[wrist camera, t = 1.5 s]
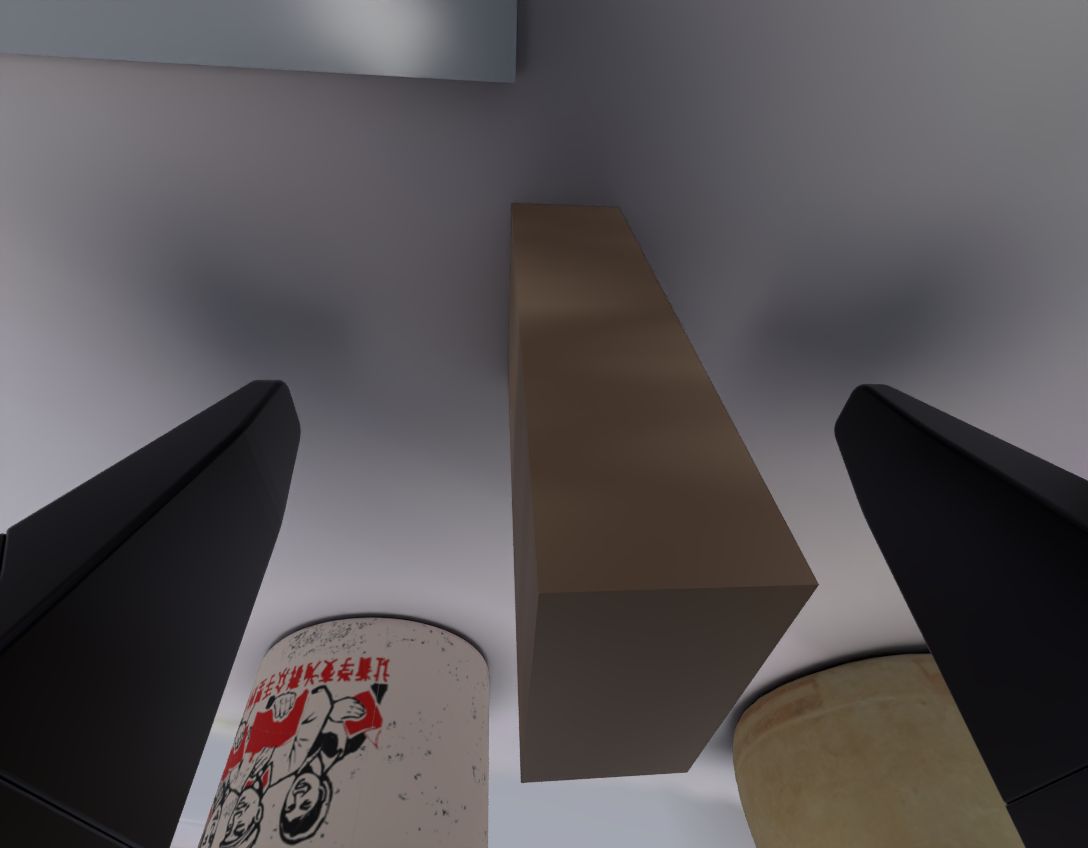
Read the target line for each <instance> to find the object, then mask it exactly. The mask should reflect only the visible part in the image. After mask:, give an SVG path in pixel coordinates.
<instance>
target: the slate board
mask: <svg viewBox="0 0 1088 848" xmlns="http://www.w3.org/2000/svg"><path fill="white" fill-rule="evenodd" d="M516 39H517V0H0V53H3V54H20V55H37V56H55V57H72V58H89V59H106V60H123V61H141V62H158V63H175V64H192V65H209V66H227V67H244V68H261V69H278V70H295V71H313V72H330V73H347V74H364V75H382V76H399V77H416V78H433V79H450V80H468V81H485V82H502V83H516Z"/></svg>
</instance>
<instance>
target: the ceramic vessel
mask: <svg viewBox="0 0 1088 848" xmlns="http://www.w3.org/2000/svg"><path fill="white" fill-rule="evenodd" d="M733 763H734V770H735V777H736V782H737V785H738V791H739V795H740V799H741V803H742V807H743V810H744V813H745V817H746V819H747V822H748V825H749V828H750V831H751V834H752V837H753V839H754V842H755V845H756V848H1025V846H1024V844H1023V842H1022V840H1021V838H1020V836H1019V834H1018V832H1017V830H1016V828H1015V826H1014V824H1013V822H1012V820H1011V817H1010V815H1009V813H1008V811H1007V809H1006V807H1005V805H1006V804H1007V803H1005V802H1004V801H1003V800H1002V798H1001V796H1000V794H999V792H998V790H997V788H996V786H995V784H994V782H993V780H992V777H991V775H990V773H989V771H988V769H987V767H986V765H985V763H984V761H983V759H982V757H981V755H980V753H979V751H978V749H977V747H976V745H975V743H974V741H973V739H972V737H971V734H970V732H969V730H968V728H967V726H966V724H965V722H964V720H963V718H962V716H961V714H960V712H959V710H958V708H957V706H956V704H955V702H954V700H953V698H952V696H951V694H950V691H949V689H948V687H947V685H946V683H945V681H944V679H943V677H942V675H941V673H940V671H939V669H938V667H937V665H936V663H935V661H934V659H933V657H932V655H931V654H902V655H893V656H884V657H876V658H870V659H865V660H860V661H855V662H850V663H846V664H843V665H840V666H836V667H833V668H830V669H827V670H824V671H820V672H817V673H814V674H811V675H807V676H804V677H802V678H799V679H797V680H794V681H792V682H789V683H787V684H784V685H782V686H780V687H778V688H776V689H775V690H773V691H771V692H769V693H767V694H765V695H764V696H762V697H760V698H759V699H758V700H757V701H756V702H754V703H753V704H752V705H751V706H750V707H749V708H748V709H746V710H745V711H744V713H743V715H742V717H741V718H740V720H739V722H738V724H737V725H736V729H735V733H734V739H733Z"/></svg>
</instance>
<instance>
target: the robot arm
mask: <svg viewBox="0 0 1088 848" xmlns="http://www.w3.org/2000/svg"><path fill="white" fill-rule="evenodd" d="M834 432H835V438H836V441H837V444H838V446H839V449H840V452H841V455H842V457H843V460H844V463H845V466H846V469H847V471H848V474H849V477H850V480H851V482H852V485H853V488H854V491H855V494H856V496H857V499H858V502H859V504H860V507H861V510H862V512H863V515H864V517H865V519H866V521H867V523H868V526H869V528H870V530H871V532H872V534H873V536H874V538H875V540H876V542H877V544H878V546H879V548H880V550H881V552H882V554H883V556H884V558H885V560H886V562H887V565H888V567H889V569H890V571H891V573H892V575H893V577H894V579H895V581H896V583H897V585H898V587H899V589H900V591H901V593H902V595H903V597H904V599H905V601H906V603H907V605H908V608H909V610H910V612H911V614H912V616H913V618H914V620H915V622H916V624H917V626H918V628H919V630H920V632H921V634H922V636H923V638H924V640H925V642H926V644H927V646H928V648H929V651H930V653H931V655H932V657H933V659H934V661H935V663H936V665H937V667H938V669H939V671H940V673H941V675H942V677H943V679H944V681H945V683H946V685H947V687H948V689H949V691H950V694H951V696H952V698H953V700H954V702H955V704H956V706H957V708H958V710H959V712H960V714H961V716H962V718H963V720H964V722H965V724H966V726H967V728H968V730H969V732H970V734H971V737H972V739H973V741H974V743H975V745H976V747H977V749H978V751H979V753H980V755H981V757H982V759H983V761H984V763H985V765H986V767H987V769H988V771H989V773H990V775H991V777H992V780H993V782H994V784H995V786H996V788H997V790H998V792H999V794H1000V796H1001V798H1002V800H1003V801H1004V802H1005V803H1007V804H1006V805H1005V807H1006V809H1007V811H1008V813H1009V815H1010V817H1011V820H1012V822H1013V824H1014V826H1015V828H1016V830H1017V832H1018V834H1019V836H1020V838H1021V840H1022V842H1023V844H1024V846H1025V848H1088V481H1087V480H1085V479H1083V478H1081V477H1079V476H1077V475H1075V474H1073V473H1070V472H1068V471H1066V470H1064V469H1062V468H1060V467H1058V466H1056V465H1054V464H1052V463H1050V462H1047V461H1045V460H1043V459H1041V458H1039V457H1037V456H1035V455H1033V454H1031V453H1029V452H1026V451H1024V450H1022V449H1020V448H1018V447H1016V446H1014V445H1012V444H1010V443H1008V442H1006V441H1003V440H1001V439H999V438H997V437H995V436H993V435H991V434H989V433H987V432H985V431H982V430H980V429H978V428H976V427H974V426H972V425H970V424H968V423H966V422H964V421H962V420H959V419H957V418H955V417H953V416H951V415H949V414H947V413H945V412H943V411H941V410H938V409H936V408H934V407H932V406H930V405H928V404H926V403H924V402H922V401H920V400H918V399H915V398H913V397H911V396H909V395H907V394H905V393H903V392H901V391H899V390H897V389H894V388H892V387H890V386H888V385H883V384H862V385H859V386H858V387H856V388H855V389H854V390H853V392H852V393H851V395H850V397H849V399H848V401H847V402H846V404H845V406H844V408H843V410H842V412H841V413H840V415H839V417H838V419H837V421H836V424H835V430H834ZM300 433H301V430H300V423H299V419H298V416H297V413H296V410H295V407H294V403H293V400H292V397H291V394H290V391H289V388H288V386H287V385H286V383H284V382H283V381H281V380H255V381H252V382H250V383H249V384H247V385H245V386H244V387H242V388H240V389H239V390H237V391H235V392H234V393H232V394H230V395H229V396H227V397H226V398H224V399H222V400H221V401H219V402H217V403H216V404H214V405H212V406H211V407H209V408H207V409H206V410H204V411H202V412H201V413H199V414H197V415H196V416H194V417H192V418H191V419H189V420H187V421H186V422H184V423H182V424H181V425H179V426H177V427H176V428H174V429H172V430H171V431H169V432H168V433H166V434H164V435H163V436H161V437H159V438H158V439H156V440H154V441H153V442H151V443H149V444H148V445H146V446H144V447H143V448H141V449H139V450H138V451H136V452H134V453H133V454H131V455H129V456H128V457H126V458H124V459H123V460H121V461H119V462H118V463H116V464H114V465H113V466H111V467H109V468H108V469H106V470H104V471H103V472H101V473H100V474H98V475H96V476H95V477H93V478H91V479H90V480H88V481H86V482H85V483H83V484H81V485H80V486H78V487H76V488H75V489H73V490H71V491H70V492H68V493H66V494H65V495H63V496H61V497H60V498H58V499H56V500H55V501H53V502H51V503H50V504H48V505H46V506H45V507H43V508H41V509H40V510H38V511H36V512H35V513H33V514H32V515H30V516H28V517H27V518H25V519H23V520H22V521H20V522H18V523H17V524H15V525H13V526H12V527H10V528H9V529H8V530H7V532H6V534H0V848H170V845H171V842H172V839H173V837H174V834H175V831H176V828H177V825H178V822H179V819H180V816H181V813H182V811H183V808H184V805H185V802H186V799H187V796H188V793H189V790H190V788H191V785H192V782H193V779H194V776H195V773H196V770H197V767H198V765H199V762H200V759H201V756H202V753H203V750H204V747H205V744H206V742H207V739H208V736H209V733H210V730H211V727H212V724H213V721H214V718H215V716H216V713H217V710H218V707H219V704H220V701H221V698H222V695H223V693H224V690H225V687H226V684H227V681H228V678H229V675H230V672H231V670H232V667H233V664H234V661H235V658H236V655H237V652H238V649H239V646H240V644H241V641H242V638H243V635H244V632H245V629H246V626H247V623H248V621H249V618H250V615H251V612H252V609H253V606H254V603H255V600H256V598H257V595H258V592H259V589H260V586H261V583H262V580H263V577H264V574H265V572H266V569H267V566H268V563H269V560H270V557H271V554H272V551H273V549H274V546H275V543H276V540H277V537H278V534H279V531H280V527H281V524H282V520H283V516H284V512H285V508H286V503H287V498H288V493H289V489H290V484H291V479H292V474H293V470H294V465H295V460H296V455H297V450H298V446H299V441H300Z"/></svg>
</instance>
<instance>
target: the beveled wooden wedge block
mask: <svg viewBox="0 0 1088 848" xmlns="http://www.w3.org/2000/svg"><path fill="white" fill-rule="evenodd" d="M508 387H509V419H510V451H511V483H512V514H513V546H514V578H515V610H516V642H517V674H518V706H519V737H520V769H521V783H527V782H543V781H558V780H574V779H590V778H606V777H622V776H638V775H654V774H670V773H685V772H688V771H689V769H690V768H691V766H692V765H693V763H694V762H695V761H696V759H697V758H698V756H699V755H700V753H701V752H702V751H703V749H704V748H705V746H706V745H707V743H708V742H709V741H710V739H711V738H712V736H713V735H714V733H715V732H716V731H717V729H718V728H719V726H720V725H721V723H722V722H723V721H724V719H725V718H726V716H727V715H728V714H729V712H730V711H731V709H732V708H733V706H734V705H735V704H736V702H737V701H738V699H739V698H740V696H741V695H742V694H743V692H744V691H745V689H746V688H747V686H748V685H749V684H750V682H751V681H752V679H753V678H754V676H755V675H756V674H757V672H758V671H759V669H760V668H761V666H762V665H763V664H764V662H765V661H766V659H767V658H768V656H769V655H770V654H771V652H772V651H773V649H774V648H775V646H776V645H777V644H778V642H779V641H780V639H781V638H782V637H783V635H784V634H785V632H786V631H787V629H788V628H789V627H790V625H791V624H792V622H793V621H794V619H795V618H796V617H797V615H798V614H799V612H800V611H801V609H802V608H803V607H804V605H805V604H806V602H807V601H808V599H809V598H810V597H811V595H812V594H813V592H814V591H815V589H816V588H817V587H818V585H819V584H818V582H817V580H816V578H815V576H814V575H813V573H812V571H811V569H810V567H809V565H808V563H807V561H806V559H805V558H804V556H803V554H802V552H801V550H800V548H799V546H798V544H797V543H796V541H795V539H794V537H793V535H792V533H791V531H790V529H789V527H788V526H787V524H786V522H785V520H784V518H783V516H782V514H781V512H780V510H779V509H778V507H777V505H776V503H775V501H774V499H773V497H772V495H771V493H770V492H769V490H768V488H767V486H766V484H765V482H764V480H763V478H762V476H761V475H760V473H759V471H758V469H757V467H756V465H755V463H754V461H753V459H752V458H751V456H750V454H749V452H748V450H747V448H746V446H745V444H744V443H743V441H742V439H741V437H740V435H739V433H738V431H737V429H736V427H735V426H734V424H733V422H732V420H731V418H730V416H729V414H728V412H727V410H726V409H725V407H724V405H723V403H722V401H721V399H720V397H719V395H718V393H717V392H716V390H715V388H714V386H713V384H712V382H711V380H710V378H709V376H708V375H707V373H706V371H705V369H704V367H703V365H702V363H701V361H700V360H699V358H698V356H697V354H696V352H695V350H694V348H693V346H692V344H691V343H690V341H689V339H688V337H687V335H686V333H685V331H684V329H683V327H682V326H681V324H680V322H679V320H678V318H677V316H676V314H675V312H674V310H673V309H672V307H671V305H670V303H669V301H668V299H667V297H666V295H665V293H664V292H663V290H662V288H661V286H660V284H659V282H658V280H657V278H656V276H655V275H654V273H653V271H652V269H651V267H650V265H649V263H648V261H647V260H646V258H645V256H644V254H643V252H642V250H641V248H640V246H639V244H638V243H637V241H636V239H635V237H634V235H633V233H632V231H631V229H630V227H629V226H628V224H627V222H626V220H625V218H624V216H623V214H622V212H621V210H620V209H619V207H595V206H568V205H541V204H514V203H512V205H511V260H510V316H509V371H508Z"/></svg>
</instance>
